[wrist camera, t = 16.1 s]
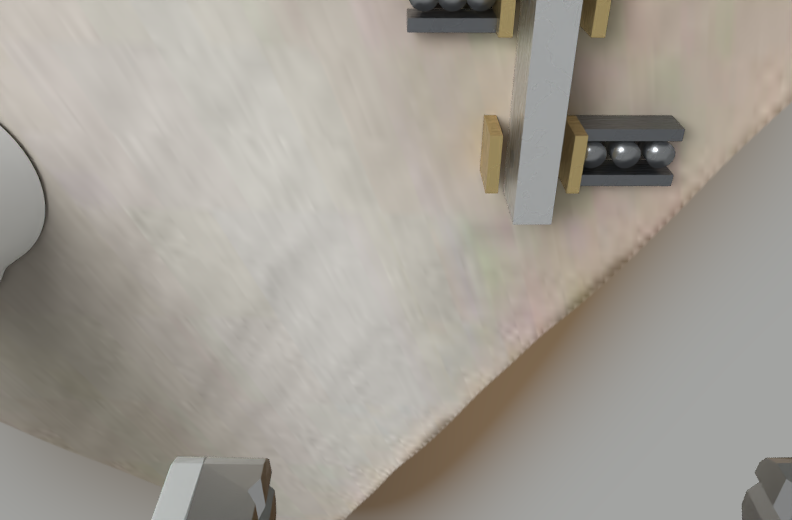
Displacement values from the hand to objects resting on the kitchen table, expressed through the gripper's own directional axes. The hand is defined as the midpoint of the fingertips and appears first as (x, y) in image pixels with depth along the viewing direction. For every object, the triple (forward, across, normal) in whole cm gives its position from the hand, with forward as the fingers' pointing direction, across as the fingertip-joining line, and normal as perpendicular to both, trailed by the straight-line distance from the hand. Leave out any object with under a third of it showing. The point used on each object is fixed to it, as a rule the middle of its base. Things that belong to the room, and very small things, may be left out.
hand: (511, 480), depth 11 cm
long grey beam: (+35, -7, +4) cm, 36 cm away
